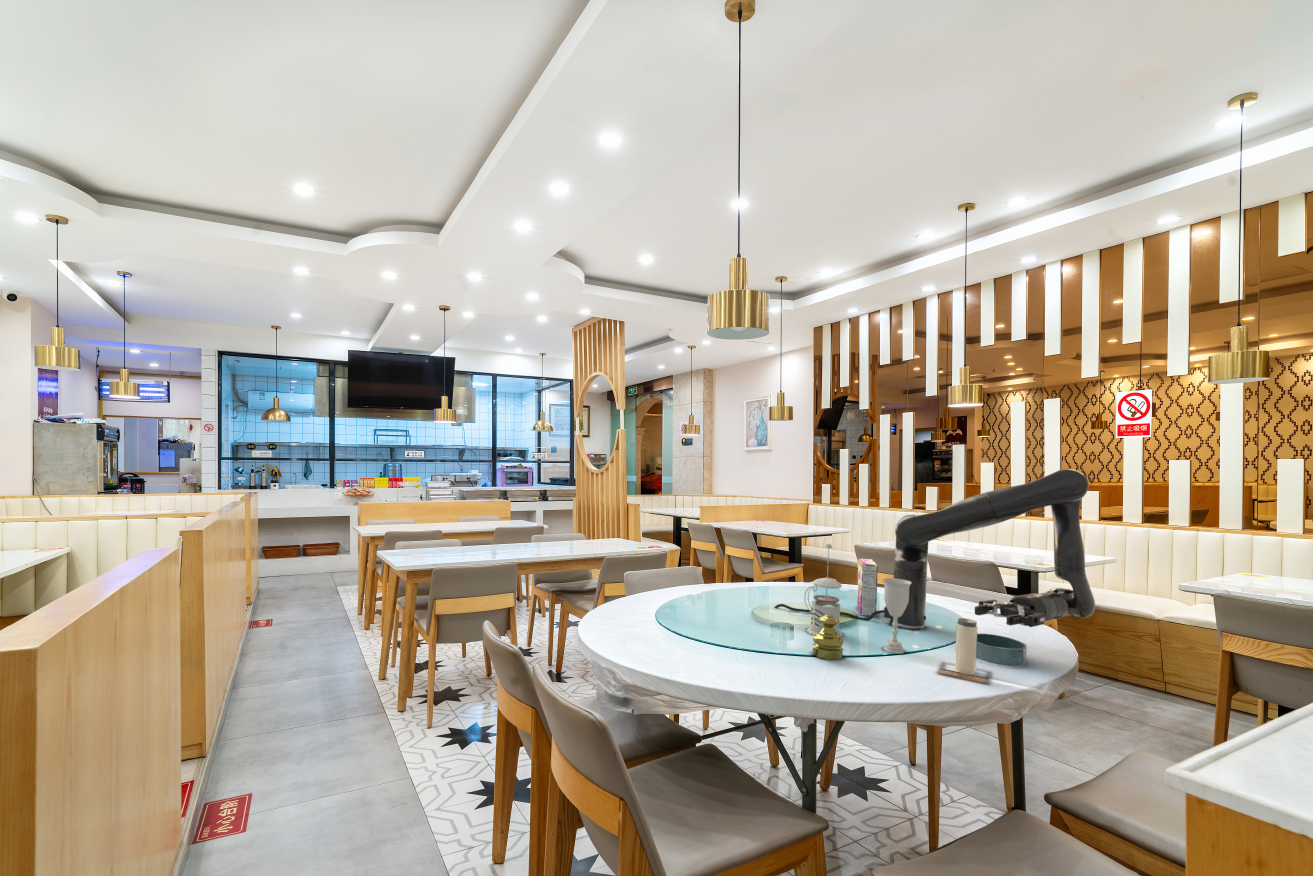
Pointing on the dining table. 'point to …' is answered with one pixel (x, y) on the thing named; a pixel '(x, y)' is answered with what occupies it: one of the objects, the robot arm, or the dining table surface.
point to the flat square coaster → (963, 676)
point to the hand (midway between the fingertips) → (991, 615)
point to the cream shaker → (966, 646)
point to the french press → (824, 603)
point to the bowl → (1000, 649)
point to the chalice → (896, 608)
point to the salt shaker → (828, 640)
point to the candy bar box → (867, 587)
